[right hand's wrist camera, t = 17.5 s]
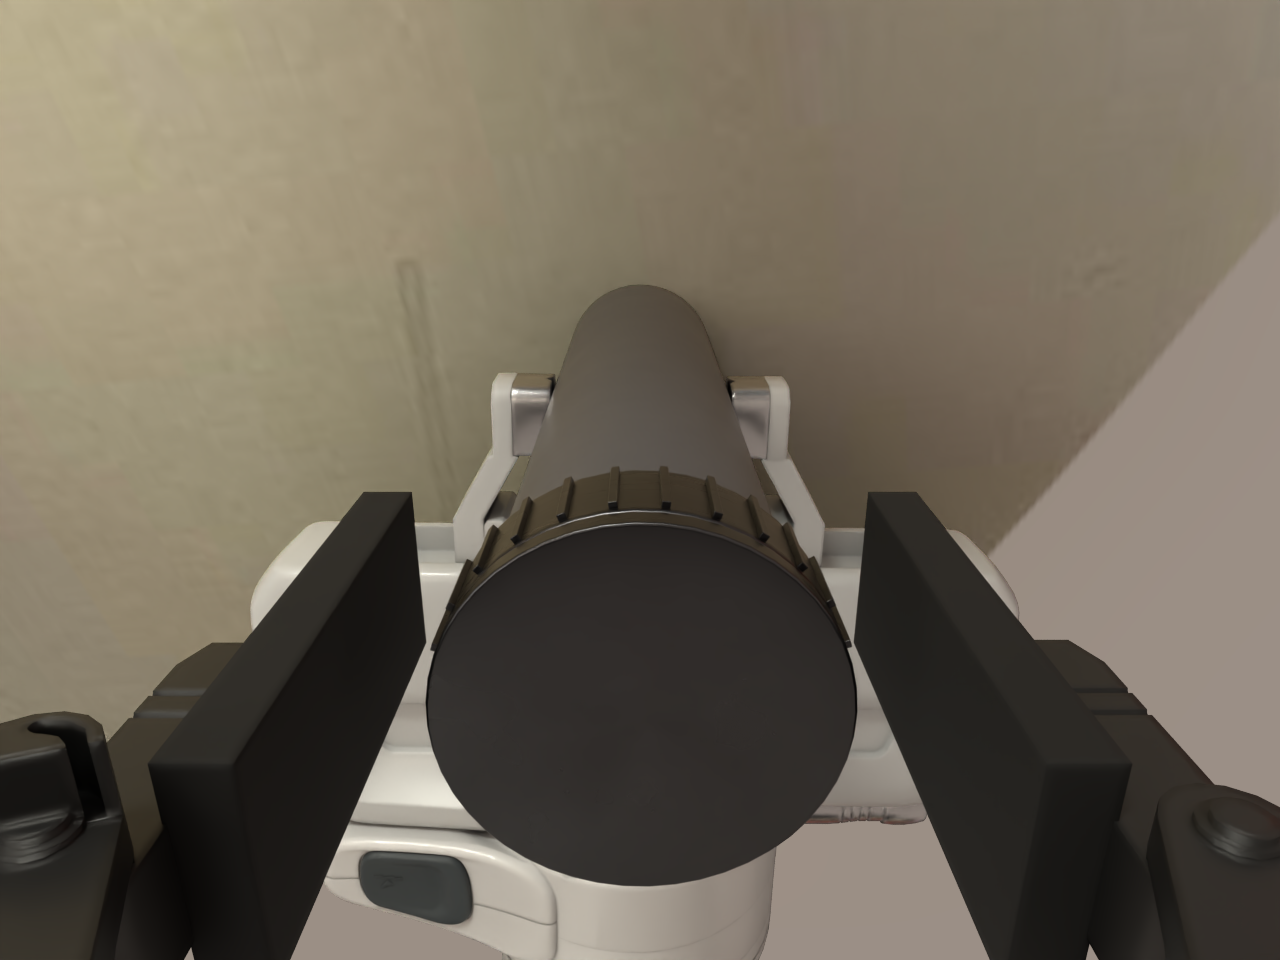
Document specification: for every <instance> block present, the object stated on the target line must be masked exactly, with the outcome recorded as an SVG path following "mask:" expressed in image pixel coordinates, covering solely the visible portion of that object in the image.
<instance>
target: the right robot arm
mask: <svg viewBox="0 0 1280 960" xmlns="http://www.w3.org/2000/svg"><path fill="white" fill-rule="evenodd" d="M425 645H426V633H425V623H424V612H423V602H422V592H421V582H420V571H419V561H418V551H417V541H416V531H415V520H414V510H413V500H412V492H363V494H362V495H361V496H360V497H359V499H358V500H357V501H356V502H355V504H354V505H353V506H352V507H351V509H350V510H349V511H348V512H347V514H346V515H345V516H344V517H343V519H342V520H341V521H340V523H339V524H338V525H337V526H336V528H335V529H334V530H333V531H332V533H331V534H330V535H329V536H328V538H327V539H326V540H325V541H324V543H323V544H322V545H321V546H320V548H319V549H318V550H317V551H316V553H315V554H314V555H313V556H312V558H311V559H310V560H309V561H308V563H307V564H306V565H305V566H304V568H303V569H302V570H301V571H300V573H299V574H298V575H297V576H296V578H295V579H294V580H293V581H292V583H291V584H290V585H289V587H288V588H287V589H286V590H285V592H284V593H283V594H282V595H281V597H280V598H279V599H278V600H277V602H276V603H275V604H274V605H273V607H272V608H271V609H270V610H269V612H268V613H267V614H266V615H265V617H264V618H263V619H262V620H261V622H260V623H259V624H258V625H257V627H256V628H255V629H254V630H253V632H252V633H251V634H250V635H249V637H248V638H247V639H246V640H245V642H244V643H211V644H210V645H208V646H206V647H205V648H203V649H201V650H200V651H198V652H197V653H195V654H193V655H192V656H190V657H188V658H187V659H185V660H184V661H182V662H180V663H179V664H177V665H176V666H175V667H174V668H173V669H172V670H171V672H170V673H169V674H168V675H167V676H166V677H165V678H164V679H163V680H162V682H161V683H160V684H159V685H158V686H157V687H156V688H155V689H154V691H153V696H148V697H147V698H146V700H145V701H144V702H143V703H142V704H141V705H140V706H139V707H138V708H137V710H136V711H135V712H134V717H133V718H129V719H128V720H127V721H126V722H125V723H124V724H123V725H122V726H121V728H120V729H119V730H118V731H117V732H116V733H115V734H114V735H113V737H112V738H111V739H110V740H109V741H108V742H107V743H106V739H105V735H104V731H103V727H102V725H101V724H100V723H99V722H97V721H96V720H94V719H93V718H92V717H90V716H89V715H84V714H78V713H71V712H65V711H64V712H54V713H43V714H34V715H30V716H26V717H23V718H19V719H15V720H12V721H8V722H4V723H1V724H0V960H184V959H185V957H186V955H187V953H188V951H189V950H190V948H192V952H193V956H194V960H290V959H291V956H292V954H293V952H294V950H295V947H296V945H297V943H298V940H299V938H300V936H301V933H302V931H303V929H304V926H305V924H306V921H307V919H308V917H309V915H310V912H311V910H312V908H313V905H314V903H315V901H316V898H317V896H318V894H319V891H320V889H321V887H322V884H323V882H324V880H325V877H326V875H327V873H328V870H329V868H330V866H331V863H332V861H333V859H334V856H335V854H336V852H337V849H338V847H339V845H340V842H341V840H342V838H343V836H344V833H345V831H346V829H347V826H348V824H349V822H350V819H351V817H352V815H353V812H354V810H355V808H356V805H357V803H358V801H359V798H360V796H361V794H362V791H363V789H364V787H365V784H366V782H367V780H368V777H369V775H370V773H371V770H372V768H373V766H374V763H375V761H376V759H377V756H378V754H379V752H380V749H381V747H382V745H383V742H384V740H385V738H386V735H387V733H388V731H389V728H390V726H391V724H392V721H393V719H394V717H395V714H396V712H397V710H398V707H399V705H400V703H401V701H402V698H403V696H404V694H405V691H406V689H407V687H408V684H409V682H410V680H411V677H412V675H413V673H414V670H415V668H416V666H417V663H418V661H419V659H420V656H421V654H422V652H423V649H424V647H425ZM854 645H855V647H856V649H857V652H858V654H859V656H860V659H861V661H862V663H863V666H864V668H865V670H866V673H867V675H868V677H869V680H870V682H871V684H872V687H873V689H874V691H875V694H876V696H877V698H878V701H879V703H880V705H881V707H882V710H883V712H884V714H885V717H886V719H887V721H888V724H889V726H890V728H891V731H892V733H893V735H894V738H895V740H896V742H897V745H898V747H899V749H900V752H901V754H902V756H903V759H904V761H905V763H906V766H907V768H908V770H909V773H910V775H911V777H912V780H913V782H914V784H915V787H916V789H917V791H918V794H919V796H920V798H921V801H922V803H923V805H924V808H925V810H926V812H927V815H928V817H929V819H930V822H931V824H932V826H933V829H934V831H935V833H936V836H937V838H938V840H939V842H940V845H941V847H942V849H943V852H944V854H945V856H946V859H947V861H948V863H949V866H950V868H951V870H952V873H953V875H954V877H955V880H956V882H957V884H958V887H959V889H960V891H961V894H962V896H963V898H964V901H965V903H966V905H967V908H968V910H969V912H970V914H971V917H972V919H973V922H974V924H975V926H976V929H977V931H978V933H979V936H980V938H981V940H982V943H983V945H984V947H985V950H986V952H987V954H988V957H989V959H990V960H1086V956H1087V952H1088V948H1089V944H1090V945H1091V947H1092V948H1093V950H1094V952H1095V954H1096V956H1097V958H1098V959H1099V960H1280V807H1278V806H1276V805H1274V804H1272V803H1270V802H1268V801H1266V800H1264V799H1262V798H1260V797H1259V796H1256V795H1253V794H1250V793H1246V792H1243V791H1240V790H1237V789H1233V788H1230V787H1227V786H1221V785H1214V784H1213V783H1212V781H1211V780H1210V779H1209V778H1208V777H1207V776H1206V775H1205V774H1204V772H1203V771H1202V770H1201V769H1200V768H1199V767H1198V766H1197V765H1196V764H1195V763H1194V761H1193V760H1192V759H1191V758H1190V757H1189V756H1188V755H1187V754H1186V752H1185V751H1184V750H1183V749H1182V748H1181V747H1180V746H1179V745H1178V744H1177V742H1176V741H1175V740H1174V739H1173V738H1172V737H1171V736H1170V735H1169V734H1168V732H1167V731H1166V730H1165V729H1164V728H1163V727H1162V726H1161V725H1160V723H1159V722H1158V721H1157V720H1156V719H1155V718H1154V717H1153V716H1152V715H1148V714H1147V709H1146V708H1145V707H1144V706H1143V705H1142V704H1141V702H1140V701H1139V700H1138V699H1137V698H1136V697H1135V696H1134V695H1133V693H1128V688H1127V687H1126V686H1125V685H1124V683H1123V682H1122V681H1121V680H1120V679H1119V678H1118V677H1117V676H1116V675H1115V673H1114V672H1113V671H1112V670H1111V669H1110V668H1109V667H1108V666H1107V665H1106V663H1105V662H1103V661H1102V660H1100V659H1098V658H1097V657H1095V656H1094V655H1092V654H1090V653H1089V652H1087V651H1085V650H1084V649H1082V648H1081V647H1079V646H1077V645H1076V644H1074V643H1072V642H1071V641H1069V640H1034V639H1033V638H1032V637H1031V635H1030V634H1029V633H1028V632H1027V630H1026V629H1025V628H1024V627H1023V626H1022V624H1021V623H1020V622H1019V620H1018V619H1017V618H1016V617H1015V615H1014V614H1013V613H1012V612H1011V610H1010V609H1009V608H1008V607H1007V605H1006V604H1005V603H1004V602H1003V600H1002V599H1001V598H1000V597H999V595H998V594H997V593H996V592H995V590H994V589H993V588H992V587H991V585H990V584H989V583H988V581H987V580H986V579H985V578H984V576H983V575H982V574H981V573H980V571H979V570H978V569H977V568H976V566H975V565H974V564H973V563H972V561H971V560H970V559H969V558H968V556H967V555H966V554H965V553H964V551H963V550H962V549H961V548H960V546H959V545H958V544H957V543H956V541H955V540H954V539H953V538H952V536H951V535H950V534H949V533H948V531H947V530H946V529H945V528H944V526H943V525H942V524H941V523H940V521H939V520H938V519H937V517H936V516H935V515H934V514H933V512H932V511H931V510H930V509H929V507H928V506H927V505H926V504H925V502H924V501H923V500H922V499H921V497H920V496H919V495H918V494H917V492H868V500H867V510H866V520H865V531H864V541H863V551H862V561H861V571H860V582H859V592H858V602H857V612H856V623H855V633H854Z"/></svg>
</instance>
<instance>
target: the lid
mask: <svg viewBox="0 0 1280 960" xmlns="http://www.w3.org/2000/svg"><path fill="white" fill-rule="evenodd" d="M445 609H446V610H445V613H444V615H443V618H442V620H441V622H440V625H439V627H438V630H437V632H436V634H435V637H434V639H433V642H432V644H431V648H430V651H434V654H433V658H432V662H431V666H430V670H429V674H428V678H427V689H426V700H425V704H426V719H427V728H428V733H429V737H430V741H431V746H432V750H433V753H434V755H435V758H436V760H437V763H438V766H439V768H440V771H441V773H442V775H443V777H444V778H445V780H446V782H447V784H448V785H449V787H450V789H451V791H452V793H453V794H454V795H455V797H456V798H457V799H458V801H459V802H460V803H461V805H462V806H463V807H464V809H465V810H466V811H467V812H468V814H469V815H470V816H471V817H472V818H473V819H474V820H475V821H476V822H477V823H478V824H479V825H480V826H481V827H482V828H483V829H484V830H485V831H487V832H488V833H489V834H491V835H492V836H493V837H494V838H496V839H497V840H498V841H499V842H501V843H502V844H503V845H505V846H506V847H508V848H510V849H511V850H513V851H514V852H516V853H518V854H519V855H521V856H523V857H524V858H526V859H528V860H530V861H532V862H534V863H537V864H539V865H541V866H543V867H545V868H547V869H550V870H553V871H556V872H559V873H562V874H564V875H567V876H570V877H574V878H578V879H582V880H587V881H591V882H595V883H602V884H610V885H618V886H642V887H651V886H663V885H675V884H681V883H686V882H691V881H697V880H701V879H705V878H708V877H712V876H715V875H718V874H722V873H725V872H728V871H730V870H732V869H735V868H737V867H740V866H742V865H744V864H747V863H749V862H751V861H753V860H754V859H756V858H758V857H760V856H762V855H764V854H765V853H767V852H769V851H771V850H772V849H773V848H775V847H776V846H778V845H779V844H780V843H782V842H783V841H785V840H786V839H788V838H789V837H790V836H791V835H793V834H794V833H795V832H796V831H797V830H798V829H799V828H800V827H801V826H802V825H804V824H805V823H806V822H807V821H808V820H809V819H810V818H811V817H812V815H813V814H814V813H815V812H816V811H817V809H818V808H819V807H820V806H821V805H822V804H823V802H824V801H825V800H826V798H827V797H828V795H829V793H830V792H831V790H832V789H833V787H834V786H835V784H836V783H837V781H838V779H839V777H840V774H841V772H842V770H843V768H844V766H845V764H846V761H847V759H848V756H849V752H850V749H851V745H852V742H853V739H854V735H855V727H856V720H857V713H858V708H857V685H856V679H855V674H854V668H853V663H852V660H851V657H850V654H849V652H848V649H847V648H851V647H852V644H851V640H850V638H849V635H848V633H847V631H846V628H845V626H844V624H843V621H842V619H841V616H840V614H839V612H838V609H837V607H836V604H835V601H834V599H833V597H832V594H831V592H830V590H829V587H828V585H827V583H826V580H825V578H824V576H823V573H822V571H821V569H820V566H819V564H818V561H817V560H816V558H815V556H812V557H810V558H808V556H807V555H806V553H805V552H804V551H803V549H802V548H801V547H800V545H799V543H798V541H797V538H796V536H795V533H794V531H793V528H792V526H791V525H790V524H789V523H788V522H786V523H785V524H784V525H783V526H782V525H781V524H780V523H779V522H778V521H777V520H776V519H775V518H774V517H772V516H771V515H770V514H769V513H767V512H766V511H765V510H763V509H762V508H761V507H760V505H759V502H758V499H757V498H756V497H755V496H753V495H750V496H749V497H748V499H747V498H745V497H743V496H742V495H740V494H738V493H736V492H734V491H732V490H730V489H727V488H725V487H722V486H720V485H718V484H716V479H715V477H712V476H709V475H707V477H706V480H703V479H699V478H696V477H692V476H689V475H684V474H677V473H670V472H669V470H668V467H667V466H660V468H659V471H641V470H632V471H621V472H620V468H619V466H616V467H611V472H610V473H604V474H600V475H596V476H591V477H587V478H582V479H579V480H576V481H574V480H573V478H572V476H571V477H568V478H565V479H564V482H563V486H560V487H557V488H555V489H553V490H551V491H549V492H547V493H545V494H543V495H541V496H540V497H538V498H536V499H534V500H532V499H531V498H530V497H529V496H528V497H527V498H525V499H524V500H522V503H521V506H520V509H519V510H518V511H517V512H515V513H514V514H513V515H511V516H510V517H509V518H508V519H507V520H506V521H505V522H504V523H503V524H502V525H501V526H499V527H498V528H497V527H496V526H495V525H492V526H491V527H490V528H489V529H488V532H487V534H486V537H485V539H484V542H483V544H482V547H481V548H480V550H479V552H478V553H477V555H476V557H475V558H474V560H473V561H471V560H469V559H466V561H465V563H464V565H463V567H462V570H461V572H460V574H459V577H458V579H457V582H456V584H455V586H454V589H453V591H452V594H451V596H450V598H449V601H448V603H447V605H446V608H445Z"/></svg>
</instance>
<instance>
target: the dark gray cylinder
mask: <svg viewBox="0 0 1280 960" xmlns="http://www.w3.org/2000/svg"><path fill="white" fill-rule="evenodd" d="M616 466H619V468H620V472H621V471H632V470H641V471H659V468H660V466H667V467H668V470H669V472H670V473H677V474H684V475H689V476H692V477H696V478H699V479H703V480H706V477H707V475H709V476H712V477H715V479H716V484H718V485H720V486H722V487H725V488H727V489H730V490H732V491H734V492H736V493H738V494H740V495H742V496H743V497H745V498H747V499H748V497H749V496H750V495H753V496H755V497H756V498H757V499H758V502H759V505H760V507H761V508H762V509H763V510H765V511H766V512H767V513H769V514H770V515H771V512H770V509H769V506H768V503H767V501H766V498H765V495H764V492H763V489H762V487H761V484H760V481H759V478H758V475H757V473H756V470H755V467H754V464H753V461H752V459H751V456H750V453H749V450H748V447H747V445H746V442H745V439H744V436H743V433H742V431H741V428H740V425H739V422H738V419H737V417H736V414H735V411H734V408H733V405H732V403H731V400H730V397H729V394H728V391H727V389H726V386H725V383H724V380H723V377H722V375H721V372H720V369H719V366H718V363H717V361H716V358H715V355H714V352H713V349H712V347H711V344H710V341H709V338H708V335H707V333H706V330H705V327H704V325H703V323H702V321H701V319H700V318H699V316H698V315H697V313H696V312H695V311H694V309H693V308H692V307H691V306H690V305H689V304H688V303H687V302H686V301H684V300H683V299H682V298H680V297H679V296H677V295H676V294H674V293H672V292H670V291H668V290H666V289H662V288H659V287H655V286H650V285H631V286H626V287H621V288H618V289H615V290H613V291H610V292H609V293H607V294H605V295H603V296H602V297H600V298H599V299H597V300H596V301H595V302H594V303H593V304H592V305H591V306H590V307H589V308H588V309H587V310H586V311H585V313H584V314H583V315H582V317H581V319H580V320H579V322H578V324H577V327H576V329H575V331H574V334H573V337H572V340H571V343H570V346H569V348H568V351H567V354H566V357H565V360H564V363H563V366H562V368H561V371H560V374H559V377H558V380H557V383H556V386H555V388H554V391H553V394H552V397H551V400H550V403H549V406H548V408H547V411H546V414H545V417H544V420H543V423H542V426H541V428H540V431H539V434H538V437H537V440H536V443H535V446H534V448H533V451H532V454H531V457H530V460H529V463H528V466H527V468H526V471H525V474H524V477H523V480H522V483H521V486H520V488H519V491H518V494H517V497H516V500H515V503H514V506H513V508H512V511H511V514H510V516H511V515H513V514H514V513H515V512H517V511H518V510H519V509H520V506H521V503H522V500H524V499H525V498H527V497H528V496H529V497H530V498H531V499H532V500H534V499H536V498H538V497H540V496H541V495H543V494H545V493H547V492H549V491H551V490H553V489H555V488H557V487H560V486H563V482H564V479H565V478H568V477H571V476H572V478H573V480H574V481H576V480H579V479H582V478H587V477H591V476H596V475H600V474H604V473H610V472H611V467H616ZM771 516H772V515H771Z"/></svg>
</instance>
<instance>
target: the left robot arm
mask: <svg viewBox="0 0 1280 960" xmlns="http://www.w3.org/2000/svg"><path fill="white" fill-rule="evenodd" d="M555 386H556V379H555V374H533V373H517V372H515V373H498V375H497V377H496V378H495V380H494V382H493V384H492V393H491V417H492V439H493V445H492V447H491V449H490V451H489V453H488V454H487V456H486V458H485V460H484V462H483V463H482V465H481V467H480V469H479V471H478V472H477V474H476V476H475V478H474V479H473V481H472V483H471V485H470V487H469V488H468V490H467V492H466V494H465V496H464V498H463V500H462V502H461V504H460V506H459V508H458V510H457V512H456V514H455V516H454V518H453V523H425V522H415V531H416V541H417V551H418V561H419V571H420V582H421V592H422V602H423V612H424V623H425V633H426V645H425V647H424V649H423V652H422V654H421V656H420V659H419V661H418V663H417V666H416V668H415V670H414V673H413V675H412V677H411V680H410V682H409V684H408V687H407V689H406V691H405V694H404V696H403V698H402V701H401V703H400V705H399V707H398V710H397V712H396V714H395V717H394V719H393V721H392V724H391V726H390V728H389V731H388V733H387V735H386V738H385V740H384V742H383V745H382V747H381V749H380V752H379V754H378V756H377V759H376V761H375V763H374V766H373V768H372V770H371V773H370V775H369V777H368V780H367V782H366V784H365V787H364V789H363V791H362V794H361V796H360V798H359V801H358V803H357V805H356V808H355V810H354V812H353V815H352V817H351V819H350V822H349V824H348V826H347V829H346V831H345V833H344V836H343V838H342V840H341V842H340V845H339V847H338V849H337V852H336V854H335V856H334V859H333V861H332V863H331V866H330V868H329V870H328V873H327V875H326V877H325V880H324V883H325V885H326V887H327V889H328V890H329V891H330V892H331V893H332V894H333V895H335V896H336V897H338V898H340V899H342V900H344V901H347V902H350V903H353V904H356V905H360V906H364V907H367V908H371V909H375V910H379V911H383V912H387V913H391V914H395V915H398V916H402V917H406V918H410V919H413V920H416V921H420V922H423V923H427V924H430V925H433V926H436V927H439V928H442V929H445V930H448V931H451V932H454V933H457V934H460V935H462V936H465V937H467V938H470V939H473V940H475V941H478V942H480V943H482V944H485V945H487V946H489V947H491V948H493V949H496V950H498V951H500V952H502V960H759V958H760V956H761V953H762V951H763V948H764V945H765V941H766V937H767V933H768V929H769V920H770V910H771V900H772V887H773V875H774V864H775V856H776V847H775V848H773V849H772V850H771V851H769V852H767V853H765V854H764V855H762V856H760V857H758V858H756V859H754V860H753V861H751V862H749V863H747V864H744V865H742V866H740V867H737V868H735V869H732V870H730V871H728V872H725V873H722V874H718V875H715V876H712V877H708V878H705V879H701V880H697V881H691V882H686V883H681V884H675V885H663V886H651V887H642V886H618V885H610V884H602V883H595V882H591V881H587V880H582V879H578V878H574V877H570V876H567V875H564V874H562V873H559V872H556V871H553V870H550V869H547V868H545V867H543V866H541V865H539V864H537V863H534V862H532V861H530V860H528V859H526V858H524V857H523V856H521V855H519V854H518V853H516V852H514V851H513V850H511V849H510V848H508V847H506V846H505V845H503V844H502V843H501V842H499V841H498V840H497V839H496V838H494V837H493V836H492V835H491V834H489V833H488V832H487V831H485V830H484V829H483V828H482V827H481V826H480V825H479V824H478V823H477V822H476V821H475V820H474V819H473V818H472V817H471V816H470V815H469V814H468V812H467V811H466V810H465V809H464V807H463V806H462V805H461V803H460V802H459V801H458V799H457V798H456V797H455V795H454V794H453V793H452V791H451V789H450V787H449V785H448V784H447V782H446V780H445V778H444V777H443V775H442V773H441V771H440V768H439V766H438V763H437V760H436V758H435V755H434V753H433V750H432V746H431V741H430V737H429V733H428V728H427V719H426V704H425V700H426V689H427V678H428V674H429V670H430V666H431V662H432V658H433V654H434V651H430V648H431V644H432V642H433V639H434V637H435V634H436V632H437V630H438V627H439V625H440V622H441V620H442V618H443V615H444V613H445V610H446V609H445V608H446V605H447V603H448V601H449V598H450V596H451V594H452V591H453V589H454V586H455V584H456V582H457V579H458V577H459V574H460V572H461V570H462V567H463V565H464V563H465V561H466V559H469V560H471V561H473V560H474V558H475V557H476V555H477V553H478V552H479V550H480V548H481V547H482V544H483V542H484V539H485V537H486V534H487V532H488V529H489V528H490V527H491V526H492V525H495V526H496V527H497V528H498V527H499V526H501V525H502V524H503V523H504V522H505V521H506V520H507V519H508V518H509V517H510V514H511V511H512V508H513V506H514V503H515V500H516V497H517V495H516V494H515V493H514V492H511V491H500V489H501V487H502V486H503V484H504V482H505V480H506V479H507V477H508V475H509V473H510V472H511V470H512V468H513V466H514V464H515V463H516V461H517V459H518V457H519V456H531V454H532V451H533V448H534V446H535V443H536V440H537V437H538V434H539V431H540V428H541V426H542V423H543V420H544V417H545V414H546V411H547V408H548V406H549V403H550V400H551V397H552V394H553V391H554V388H555ZM726 389H727V391H728V394H729V397H730V400H731V403H732V405H733V408H734V411H735V414H736V417H737V419H738V422H739V425H740V428H741V431H742V433H743V436H744V439H745V442H746V445H747V447H748V450H749V453H750V456H751V459H761V462H762V464H763V466H764V467H765V469H766V471H767V473H768V475H769V477H770V479H771V481H772V482H773V484H774V486H775V488H776V490H777V492H778V494H779V496H780V497H781V498H780V497H779V496H778V495H765V498H766V501H767V503H768V506H769V509H770V512H771V515H772V517H774V518H775V519H776V520H777V521H778V522H779V523H780V524H781V525H782V526H783V525H784V524H785V523H786V522H788V523H789V524H790V525H791V526H792V528H793V531H794V533H795V536H796V538H797V541H798V543H799V545H800V547H801V548H802V549H803V551H804V552H805V553H806V555H807V556H808V558H810V557H812V556H815V558H816V560H817V561H818V564H819V566H820V569H821V571H822V573H823V576H824V578H825V580H826V583H827V585H828V587H829V590H830V592H831V594H832V597H833V599H834V601H835V604H836V607H837V609H838V612H839V614H840V616H841V619H842V621H843V624H844V626H845V628H846V631H847V633H848V635H849V638H850V640H851V644H852V647H851V648H847V649H848V652H849V654H850V657H851V660H852V663H853V668H854V674H855V679H856V685H857V708H858V713H857V720H856V727H855V735H854V739H853V742H852V745H851V749H850V752H849V756H848V759H847V761H846V764H845V766H844V768H843V770H842V772H841V774H840V777H839V779H838V781H837V783H836V784H835V786H834V787H833V789H832V790H831V792H830V793H829V795H828V797H827V798H826V800H825V801H824V802H823V804H822V805H821V806H820V807H819V808H818V809H817V811H816V812H815V813H814V814H813V815H812V817H811V818H810V819H809V820H808V821H807V822H806V823H805V824H832V823H840V822H841V823H843V822H848V821H850V822H852V821H857V820H858V821H866V820H867V821H880V822H881V823H884V824H893V825H905V824H912V823H917V822H921V821H924V820H925V818H926V816H927V812H926V810H925V808H924V805H923V803H922V801H921V798H920V796H919V794H918V791H917V789H916V787H915V784H914V782H913V780H912V777H911V775H910V773H909V770H908V768H907V766H906V763H905V761H904V759H903V756H902V754H901V752H900V749H899V747H898V745H897V742H896V740H895V738H894V735H893V733H892V731H891V728H890V726H889V724H888V721H887V719H886V717H885V714H884V712H883V710H882V707H881V705H880V703H879V701H878V698H877V696H876V694H875V691H874V689H873V687H872V684H871V682H870V680H869V677H868V675H867V673H866V670H865V668H864V666H863V663H862V661H861V659H860V656H859V654H858V652H857V649H856V647H855V645H854V633H855V623H856V612H857V602H858V592H859V582H860V571H861V561H862V551H863V541H864V531H865V528H825V524H824V522H823V520H822V517H821V515H820V513H819V511H818V509H817V507H816V505H815V503H814V501H813V499H812V497H811V495H810V493H809V491H808V489H807V487H806V485H805V483H804V481H803V479H802V477H801V475H800V474H799V472H798V470H797V468H796V466H795V464H794V462H793V460H792V458H791V456H790V454H789V453H788V451H787V446H788V433H789V420H790V406H791V401H790V389H789V386H788V384H787V383H786V381H785V379H784V378H783V376H727V379H726ZM499 491H500V492H499ZM339 523H340V521H321V522H315V523H313V524H311V525H309V526H307V527H306V528H305V529H303V530H302V531H301V532H300V533H299V534H298V535H297V536H296V537H295V538H294V539H293V540H292V541H291V542H290V543H289V544H288V545H287V546H286V547H285V548H284V549H283V550H282V551H281V552H280V553H279V555H278V556H277V557H276V558H275V559H274V561H273V562H272V563H271V565H270V566H269V567H268V569H267V570H266V571H265V573H264V574H263V576H262V577H261V579H260V580H259V582H258V584H257V586H256V588H255V590H254V593H253V596H252V600H251V609H250V614H251V626H252V632H253V630H254V629H255V628H256V627H257V625H258V624H259V623H260V622H261V620H262V619H263V618H264V617H265V615H266V614H267V613H268V612H269V610H270V609H271V608H272V607H273V605H274V604H275V603H276V602H277V600H278V599H279V598H280V597H281V595H282V594H283V593H284V592H285V590H286V589H287V588H288V587H289V585H290V584H291V583H292V581H293V580H294V579H295V578H296V576H297V575H298V574H299V573H300V571H301V570H302V569H303V568H304V566H305V565H306V564H307V563H308V561H309V560H310V559H311V558H312V556H313V555H314V554H315V553H316V551H317V550H318V549H319V548H320V546H321V545H322V544H323V543H324V541H325V540H326V539H327V538H328V536H329V535H330V534H331V533H332V531H333V530H334V529H335V528H336V526H337V525H338V524H339ZM946 530H947V531H948V533H949V534H950V535H951V536H952V538H953V539H954V540H955V541H956V543H957V544H958V545H959V546H960V548H961V549H962V550H963V551H964V553H965V554H966V555H967V556H968V558H969V559H970V560H971V561H972V563H973V564H974V565H975V566H976V568H977V569H978V570H979V571H980V573H981V574H982V575H983V576H984V578H985V579H986V580H987V581H988V583H989V584H990V585H991V587H992V588H993V589H994V590H995V592H996V593H997V594H998V595H999V597H1000V598H1001V599H1002V600H1003V602H1004V603H1005V604H1006V605H1007V607H1008V608H1009V609H1010V610H1011V612H1012V613H1013V614H1014V615H1015V617H1016V618H1017V619H1018V620H1019V607H1018V603H1017V600H1016V598H1015V595H1014V593H1013V591H1012V589H1011V588H1010V586H1009V585H1008V583H1007V581H1006V580H1005V578H1004V577H1003V576H1002V574H1001V573H1000V572H999V570H998V569H997V567H996V566H995V565H994V564H993V562H992V561H991V560H990V559H989V558H988V557H987V556H986V555H985V554H984V553H983V552H982V551H981V550H980V549H979V548H978V547H977V546H976V545H975V544H974V543H973V542H972V541H971V540H970V539H969V538H968V537H967V536H966V535H964V534H963V533H961V532H959V531H956V530H948V529H946Z"/></svg>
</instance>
